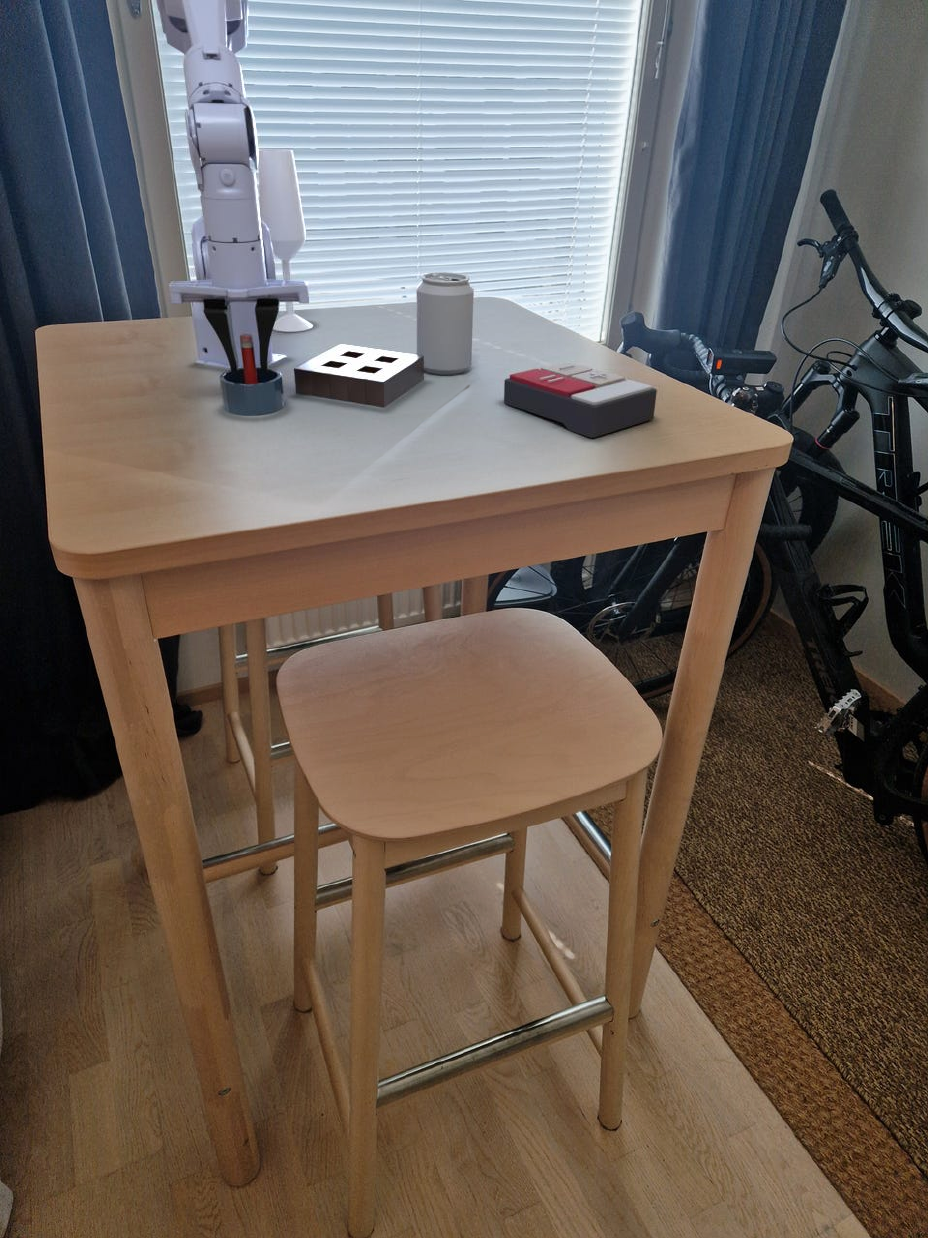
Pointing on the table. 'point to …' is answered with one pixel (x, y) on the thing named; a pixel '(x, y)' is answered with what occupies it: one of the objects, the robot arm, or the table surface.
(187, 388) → the table surface
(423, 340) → the can
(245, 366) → the pencil
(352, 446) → the table surface
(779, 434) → the table surface
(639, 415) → the calculator
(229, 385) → the cup
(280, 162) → the champagne flute
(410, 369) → the pencil stand
